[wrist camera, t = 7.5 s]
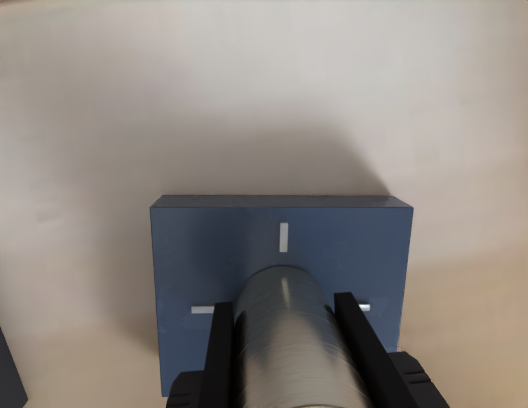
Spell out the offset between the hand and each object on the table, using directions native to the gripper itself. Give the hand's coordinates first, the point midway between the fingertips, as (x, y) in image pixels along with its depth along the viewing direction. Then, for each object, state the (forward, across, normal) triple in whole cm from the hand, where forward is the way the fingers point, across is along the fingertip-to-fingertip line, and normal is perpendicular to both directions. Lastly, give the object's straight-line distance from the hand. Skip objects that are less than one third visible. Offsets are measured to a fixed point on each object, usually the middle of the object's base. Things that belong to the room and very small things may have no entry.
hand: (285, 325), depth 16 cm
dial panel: (+4, 0, 0) cm, 4 cm away
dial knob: (+2, 0, 0) cm, 2 cm away
